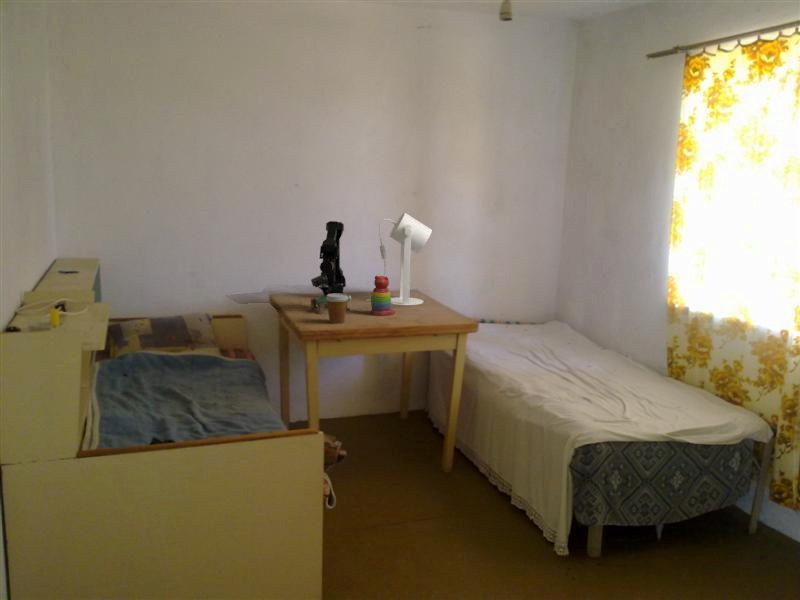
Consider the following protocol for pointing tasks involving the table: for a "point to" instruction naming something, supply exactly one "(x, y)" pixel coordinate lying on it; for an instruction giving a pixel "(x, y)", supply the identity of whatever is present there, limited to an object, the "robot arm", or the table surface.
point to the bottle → (323, 299)
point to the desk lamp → (406, 252)
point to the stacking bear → (381, 297)
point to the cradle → (320, 307)
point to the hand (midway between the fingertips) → (329, 302)
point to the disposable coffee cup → (336, 307)
